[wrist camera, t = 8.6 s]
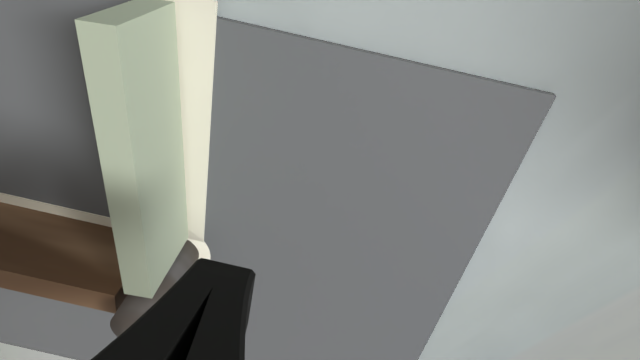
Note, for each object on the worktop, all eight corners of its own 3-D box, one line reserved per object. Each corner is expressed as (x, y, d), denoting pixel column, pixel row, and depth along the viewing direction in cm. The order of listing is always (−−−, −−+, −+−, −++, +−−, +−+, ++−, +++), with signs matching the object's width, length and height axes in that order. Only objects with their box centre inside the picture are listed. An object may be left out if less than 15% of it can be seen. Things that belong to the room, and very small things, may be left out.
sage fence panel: (174, 2, 15) (116, 26, 12) (188, 237, 21) (152, 298, 18) (142, -3, 15) (74, 19, 12) (164, 233, 21) (123, 293, 18)
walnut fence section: (198, 269, 23) (157, 349, 18) (-47, 213, 22) (-145, 281, 18) (199, 240, 21) (155, 320, 17) (-58, 182, 21) (-165, 247, 17)
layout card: (381, 424, 29) (381, 429, 28) (-9, 335, 29) (-13, 340, 28) (561, 77, 16) (564, 81, 15) (-160, -88, 15) (-171, -88, 15)
